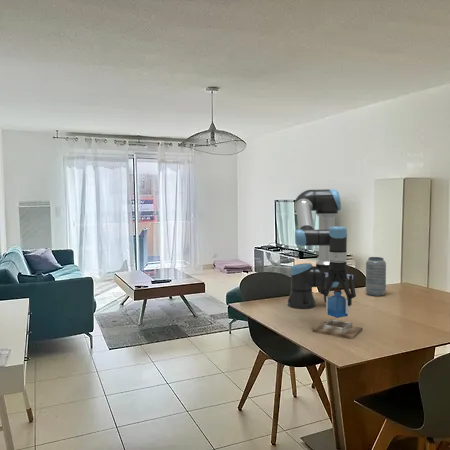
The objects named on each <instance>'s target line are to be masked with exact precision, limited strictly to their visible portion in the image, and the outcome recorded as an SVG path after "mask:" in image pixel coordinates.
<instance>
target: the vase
mask: <svg viewBox="0 0 450 450" xmlns="http://www.w3.org/2000/svg"><path fill="white" fill-rule="evenodd" d="M386 286H387V262H386V260H384V257H380V256H370V257H368V259H367V260H366V261H365V292H366V293H367V294H368V296H371V297H382V296H384V294H386V293H387V287H386Z"/></svg>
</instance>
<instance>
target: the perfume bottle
mask: <svg viewBox="0 0 450 450" xmlns="http://www.w3.org/2000/svg"><path fill="white" fill-rule="evenodd" d="M333 290H334V291H333V295H330V298H329V300H328V311H327V316H330V317H333V318H336V319H340V318H344V317H348V316H349V313H348V314H346V298H345V296H344V295H343V294H342V293H343V292H342V288H337V287H334V289H333ZM342 295H343V296H342Z"/></svg>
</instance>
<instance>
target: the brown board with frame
mask: <svg viewBox="0 0 450 450" xmlns="http://www.w3.org/2000/svg"><path fill="white" fill-rule="evenodd" d="M311 330H312V331H311V332H313V333H318V334H323V335H328V336H333V337H334V336H335V337H340V338H344V339H349V340H350V339H351V340H353V339H355V338H356V336H358V335H359V334H360V333H362V331H363V327H360V326H355V325H353V323H352V322H348V321H342V320H335V319H330V320H328V321H326V320H325V321H323V322H321V323H320V324H318V325H317V326H315V327H313V328H312V329H311Z"/></svg>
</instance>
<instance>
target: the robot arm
mask: <svg viewBox="0 0 450 450" xmlns="http://www.w3.org/2000/svg"><path fill="white" fill-rule="evenodd" d="M293 207H294V211H295V212H296V218H297V220H296V221H297V228H298V229H296V230H295V231H294V242H295V245H296V246H303V247H305V246H306V247H307V246H309V247H312V246H313V247H314V246H316V247H317V246H318V260H317V261H316V262H315V265H313V263H309V262H308V263H307V262H304V263H297V264H294V265H292V266H291V269H290V293H289V297H288V300H287V306H288V307H290V308H293V309H301V310H302V309H303V310H305V309H313V308H315V307H316V300H315V297H314V294H313V288H320V292H319V294H320V295H322V296H323V300H324V301H323V302H324V303H325V311H327V312H328V300H329V298H330V297H331V295H330V294H329V293H330V292H331V289H332V288H337V287H338V286H339V284H340V285H341V286H342V288H343V292H344V293H345V296H346V298H345V299H346V314H348V315H349V313H350V307H351V306H352V299H354V298H356V296H357V295H356V289H355V282H354V277H355V275H354V274H349V273H348V272H347V266H348V264H347V260H348V258H347V255H348V253H347V252H348V251H347V250H348V248H347V246H348V245H347V242H348V241H347V239H348V231H347V227H345V226H336V222H335V221H336V216H337V215H338V213H339V211H341V210H342V203H341V197H340V193H339V191H338V190H337V189H332V188H331V189H330V188H329V189H327V188H326V189H307V190H304V191H303V192H300V194H298V196H297V197H296V198H295V200H294V205H293ZM312 211H313V212H315V214H316V216H317V217H318V229H315V226H314V220H313V213H312ZM346 278H347V280H348V284H347V281H346ZM348 285H349V286H348Z"/></svg>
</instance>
